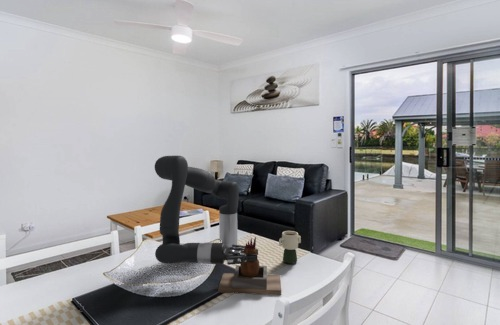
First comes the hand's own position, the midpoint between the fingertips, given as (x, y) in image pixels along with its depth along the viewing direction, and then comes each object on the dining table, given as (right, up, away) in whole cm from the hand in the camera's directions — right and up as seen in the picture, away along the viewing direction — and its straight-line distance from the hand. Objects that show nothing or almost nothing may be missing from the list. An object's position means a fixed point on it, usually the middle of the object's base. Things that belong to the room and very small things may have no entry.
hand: (257, 254), depth 104 cm
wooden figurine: (-3, -9, +1) cm, 9 cm away
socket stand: (-3, -12, +1) cm, 12 cm away
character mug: (+15, -10, +22) cm, 28 cm away
